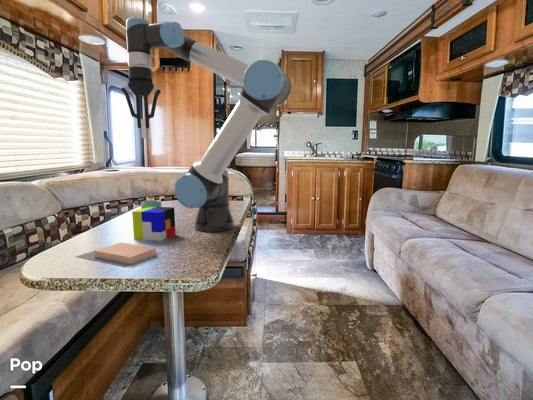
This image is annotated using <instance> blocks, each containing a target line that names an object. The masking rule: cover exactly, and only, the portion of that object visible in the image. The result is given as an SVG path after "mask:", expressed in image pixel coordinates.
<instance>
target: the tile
mask: <svg viewBox="0 0 533 400" xmlns="http://www.w3.org/2000/svg"><path fill="white" fill-rule="evenodd" d="M93 251H94V254H95V258H100V259H105V260H110V261H114V262H119V263H124V264H129V265H131V266H133V265H135V264H134V263H136V264H138V263H140V261H141V262H143V261H142V260H144V261H146V260H148V259H147V258H149V259H150V257H151V258H154V257H156V256H155V255H156V252H157V247H150V246H144V245H139V244H131V243H126V242H117V243H114V244H112V245H107V246H105V247H102V248H98V249H95V250H93ZM153 256H154V257H153ZM145 259H146V260H145ZM137 262H138V263H137ZM132 264H133V265H132Z"/></svg>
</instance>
